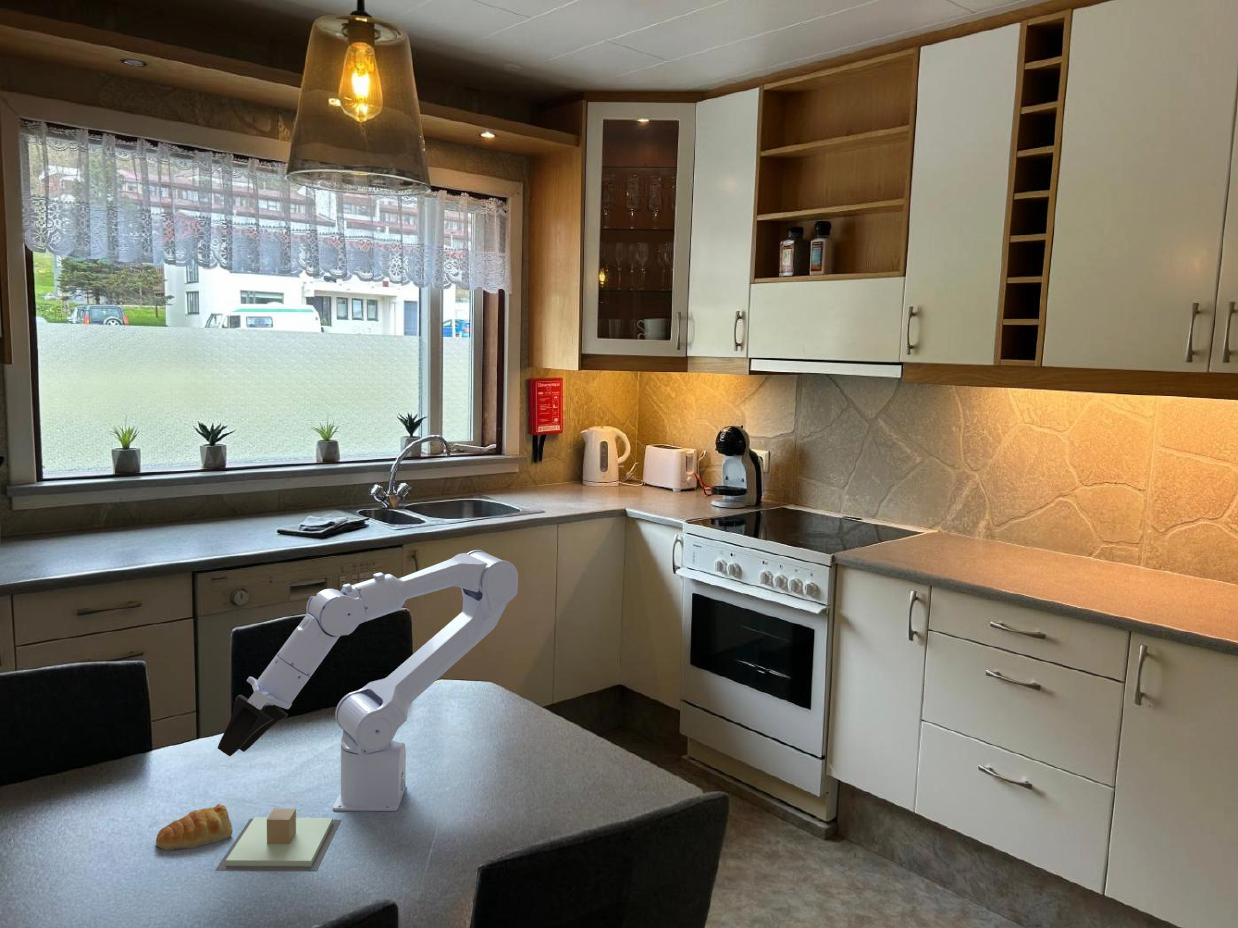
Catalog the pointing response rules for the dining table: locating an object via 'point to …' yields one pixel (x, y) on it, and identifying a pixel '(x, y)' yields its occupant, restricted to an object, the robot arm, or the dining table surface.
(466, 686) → the dining table surface
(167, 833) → the pastry
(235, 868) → the mat
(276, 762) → the dining table surface
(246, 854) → the cover
